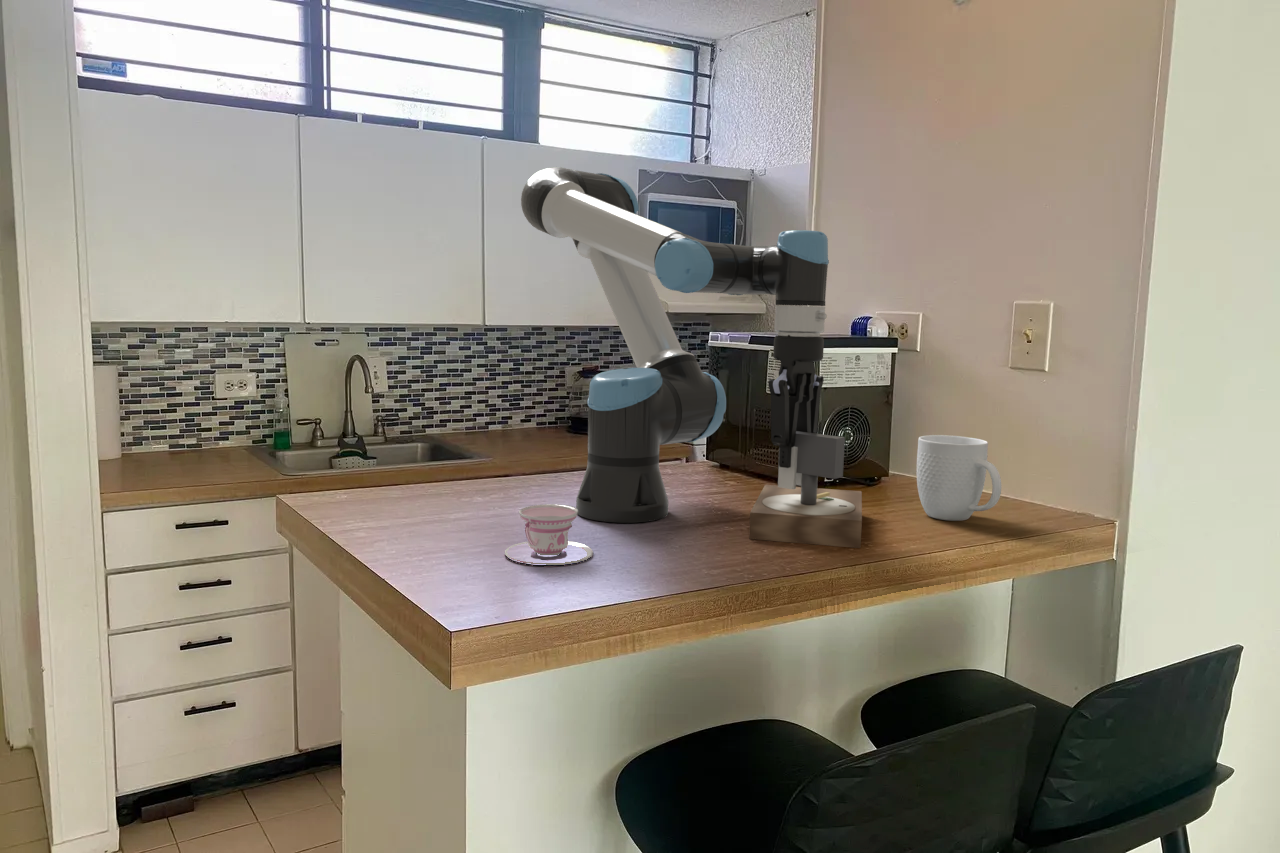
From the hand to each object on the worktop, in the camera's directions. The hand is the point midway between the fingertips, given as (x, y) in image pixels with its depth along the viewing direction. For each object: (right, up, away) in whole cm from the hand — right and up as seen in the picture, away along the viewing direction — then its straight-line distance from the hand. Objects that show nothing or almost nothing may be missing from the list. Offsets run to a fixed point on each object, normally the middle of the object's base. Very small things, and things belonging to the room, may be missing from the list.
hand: (792, 485), depth 141 cm
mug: (+28, -6, +10) cm, 31 cm away
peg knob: (+4, -2, 0) cm, 4 cm away
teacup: (-36, -8, -18) cm, 41 cm away
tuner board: (+3, -6, +2) cm, 7 cm away
